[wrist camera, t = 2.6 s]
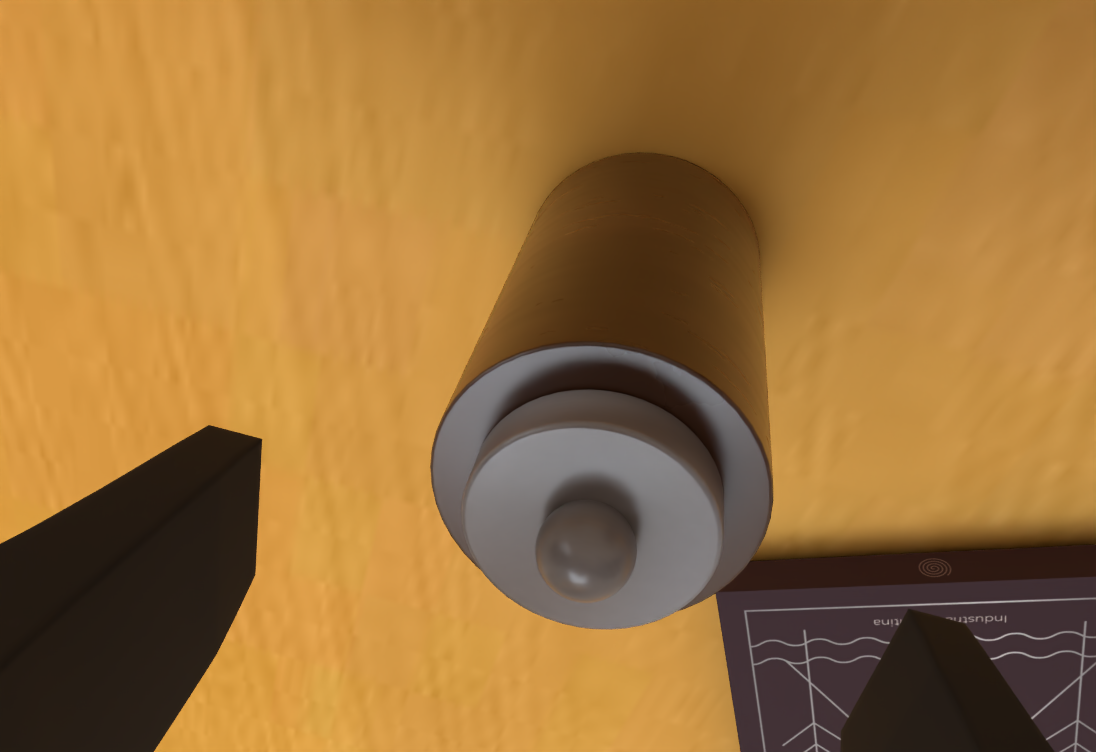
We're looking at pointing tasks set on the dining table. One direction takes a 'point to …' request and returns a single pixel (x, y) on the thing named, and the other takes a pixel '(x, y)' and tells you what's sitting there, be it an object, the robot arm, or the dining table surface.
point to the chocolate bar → (872, 619)
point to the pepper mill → (616, 402)
